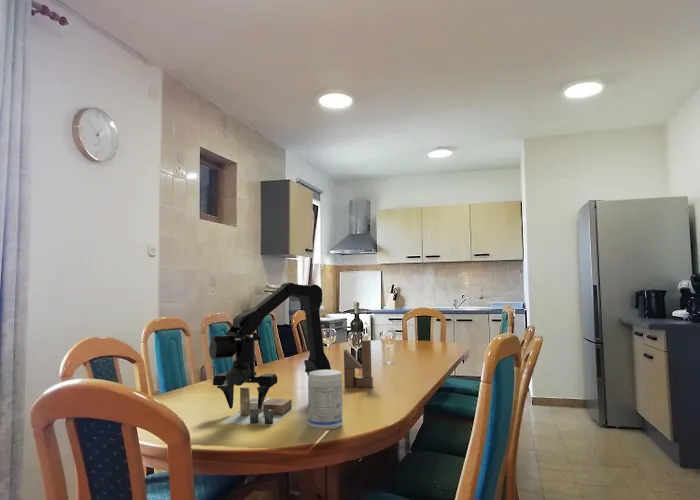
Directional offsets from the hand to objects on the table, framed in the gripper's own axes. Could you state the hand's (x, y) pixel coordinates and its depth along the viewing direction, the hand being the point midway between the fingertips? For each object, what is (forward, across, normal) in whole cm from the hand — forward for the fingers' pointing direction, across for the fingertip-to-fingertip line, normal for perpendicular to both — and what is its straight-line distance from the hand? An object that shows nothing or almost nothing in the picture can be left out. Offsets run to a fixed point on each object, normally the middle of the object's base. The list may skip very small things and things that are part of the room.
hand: (245, 408), depth 143 cm
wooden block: (+3, +24, +50) cm, 56 cm away
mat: (+3, +4, +2) cm, 5 cm away
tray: (+2, 0, +8) cm, 9 cm away
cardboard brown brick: (+2, +8, +5) cm, 10 cm away
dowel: (+2, 0, 0) cm, 2 cm away
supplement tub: (+3, +26, -5) cm, 27 cm away
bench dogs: (+2, +8, -8) cm, 11 cm away
